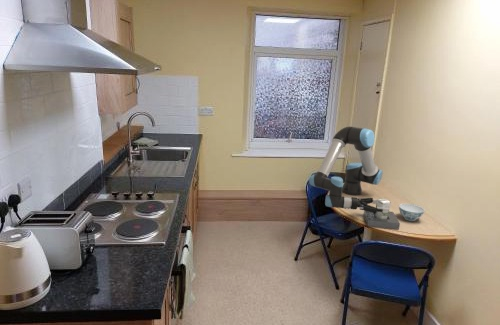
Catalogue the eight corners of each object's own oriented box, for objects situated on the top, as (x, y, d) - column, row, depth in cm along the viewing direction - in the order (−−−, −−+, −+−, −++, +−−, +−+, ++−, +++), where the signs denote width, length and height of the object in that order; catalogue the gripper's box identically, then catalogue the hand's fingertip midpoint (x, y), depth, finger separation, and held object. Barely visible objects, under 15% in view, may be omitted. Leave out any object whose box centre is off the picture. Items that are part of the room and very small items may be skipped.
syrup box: (380, 219, 221) (383, 198, 217) (387, 223, 215) (390, 201, 211) (373, 220, 219) (376, 199, 215) (379, 224, 213) (383, 202, 210)
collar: (363, 214, 227) (364, 208, 226) (392, 217, 224) (393, 211, 223) (367, 226, 210) (368, 220, 209) (398, 229, 207) (399, 223, 206)
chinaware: (401, 212, 234) (402, 201, 232) (425, 218, 225) (427, 207, 223) (394, 218, 222) (395, 207, 220) (418, 226, 213) (421, 214, 211)
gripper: (347, 201, 230) (380, 204, 227) (352, 216, 206) (389, 220, 203) (349, 190, 228) (382, 194, 225) (353, 204, 204) (391, 208, 201)
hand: (385, 206), depth 214 cm, fingers open, 13 cm apart
